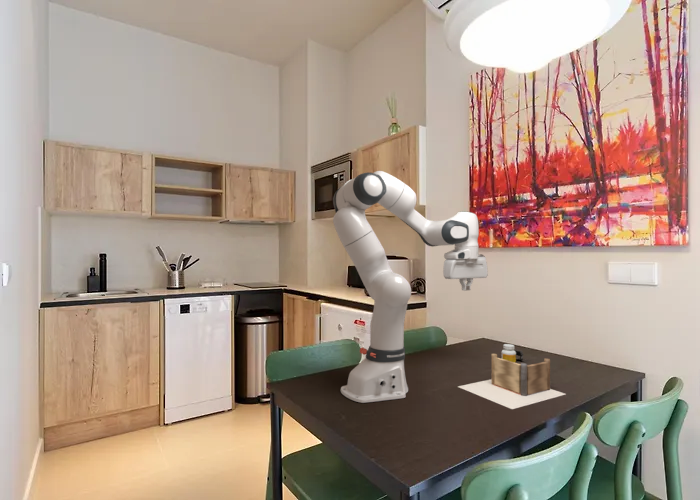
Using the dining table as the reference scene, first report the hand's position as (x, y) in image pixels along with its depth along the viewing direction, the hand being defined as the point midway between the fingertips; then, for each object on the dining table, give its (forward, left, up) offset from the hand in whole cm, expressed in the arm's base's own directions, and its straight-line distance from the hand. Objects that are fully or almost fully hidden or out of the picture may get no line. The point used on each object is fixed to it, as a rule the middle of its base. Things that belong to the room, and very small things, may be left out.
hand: (466, 290), depth 155 cm
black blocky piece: (+33, +2, -32) cm, 46 cm away
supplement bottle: (+17, -6, -31) cm, 36 cm away
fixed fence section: (+3, -28, -31) cm, 42 cm away
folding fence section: (-3, -21, -30) cm, 37 cm away
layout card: (-3, -23, -31) cm, 39 cm away
